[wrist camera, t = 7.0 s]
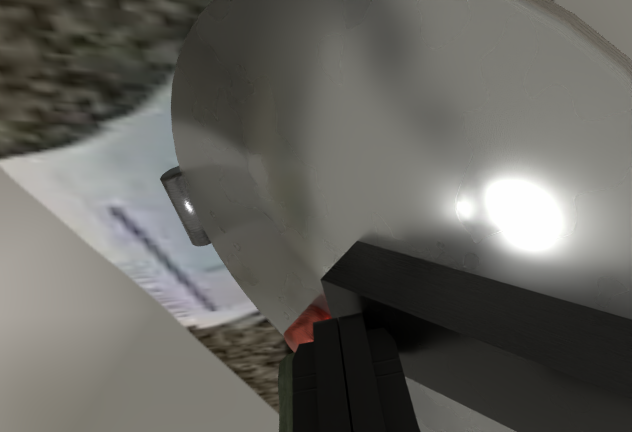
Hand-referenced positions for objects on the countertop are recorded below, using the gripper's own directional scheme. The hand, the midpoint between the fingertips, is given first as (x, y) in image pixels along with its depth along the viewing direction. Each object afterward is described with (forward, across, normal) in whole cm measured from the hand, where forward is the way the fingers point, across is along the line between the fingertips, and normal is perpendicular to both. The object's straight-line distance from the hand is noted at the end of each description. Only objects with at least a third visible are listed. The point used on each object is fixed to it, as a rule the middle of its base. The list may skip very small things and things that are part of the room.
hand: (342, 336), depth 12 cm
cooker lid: (+3, -2, 0) cm, 4 cm away
